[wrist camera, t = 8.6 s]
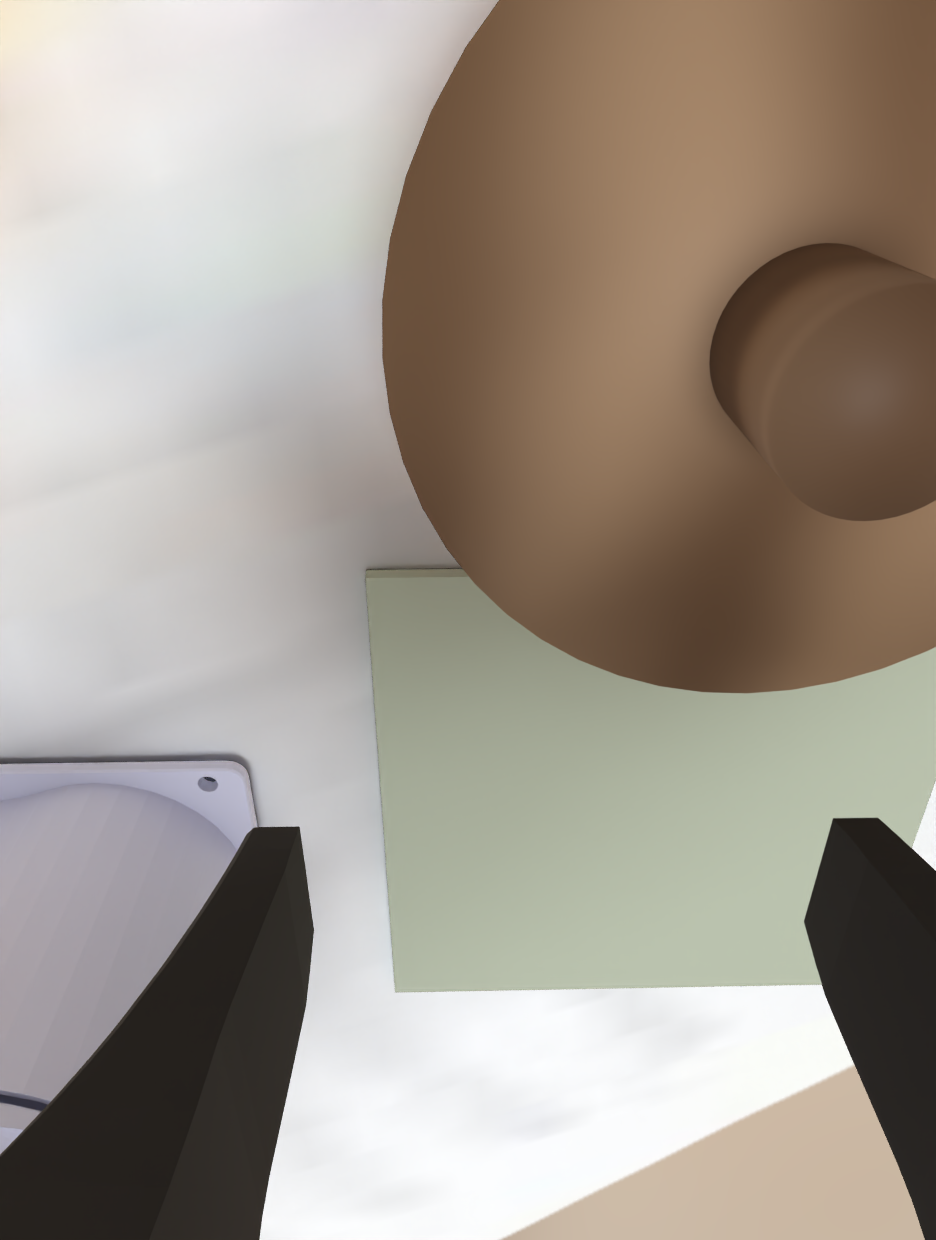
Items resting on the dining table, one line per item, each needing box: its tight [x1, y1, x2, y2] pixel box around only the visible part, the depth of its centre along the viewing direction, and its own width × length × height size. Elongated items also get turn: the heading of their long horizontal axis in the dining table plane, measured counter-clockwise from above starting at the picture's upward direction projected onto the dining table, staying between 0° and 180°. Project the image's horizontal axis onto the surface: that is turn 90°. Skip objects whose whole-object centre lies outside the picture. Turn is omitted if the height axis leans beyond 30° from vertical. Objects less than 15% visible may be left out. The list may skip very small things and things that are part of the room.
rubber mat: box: [365, 569, 936, 992], centre depth 25 cm, size 15×15×1 cm
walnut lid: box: [382, 0, 936, 693], centre depth 13 cm, size 13×13×4 cm
